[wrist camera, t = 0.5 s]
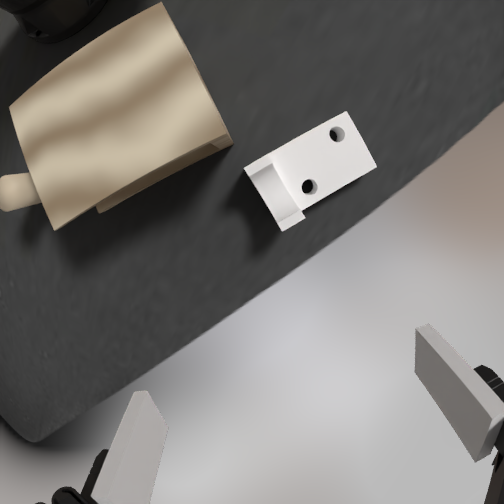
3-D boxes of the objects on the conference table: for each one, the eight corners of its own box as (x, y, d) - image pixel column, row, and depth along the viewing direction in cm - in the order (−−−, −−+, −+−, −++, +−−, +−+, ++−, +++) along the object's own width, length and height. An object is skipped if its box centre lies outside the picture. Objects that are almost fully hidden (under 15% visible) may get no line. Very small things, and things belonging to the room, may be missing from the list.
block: (34, 170, 36) (-13, 175, 26) (170, 81, 33) (146, 55, 24) (52, 214, 37) (7, 229, 28) (193, 130, 35) (174, 117, 26)
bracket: (275, 219, 38) (282, 231, 31) (244, 168, 37) (243, 168, 29) (366, 166, 37) (391, 167, 29) (338, 115, 35) (358, 104, 28)
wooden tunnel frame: (66, 117, 34) (9, 107, 22) (185, 45, 32) (161, 1, 20) (105, 211, 37) (54, 230, 26) (233, 144, 36) (226, 133, 24)
